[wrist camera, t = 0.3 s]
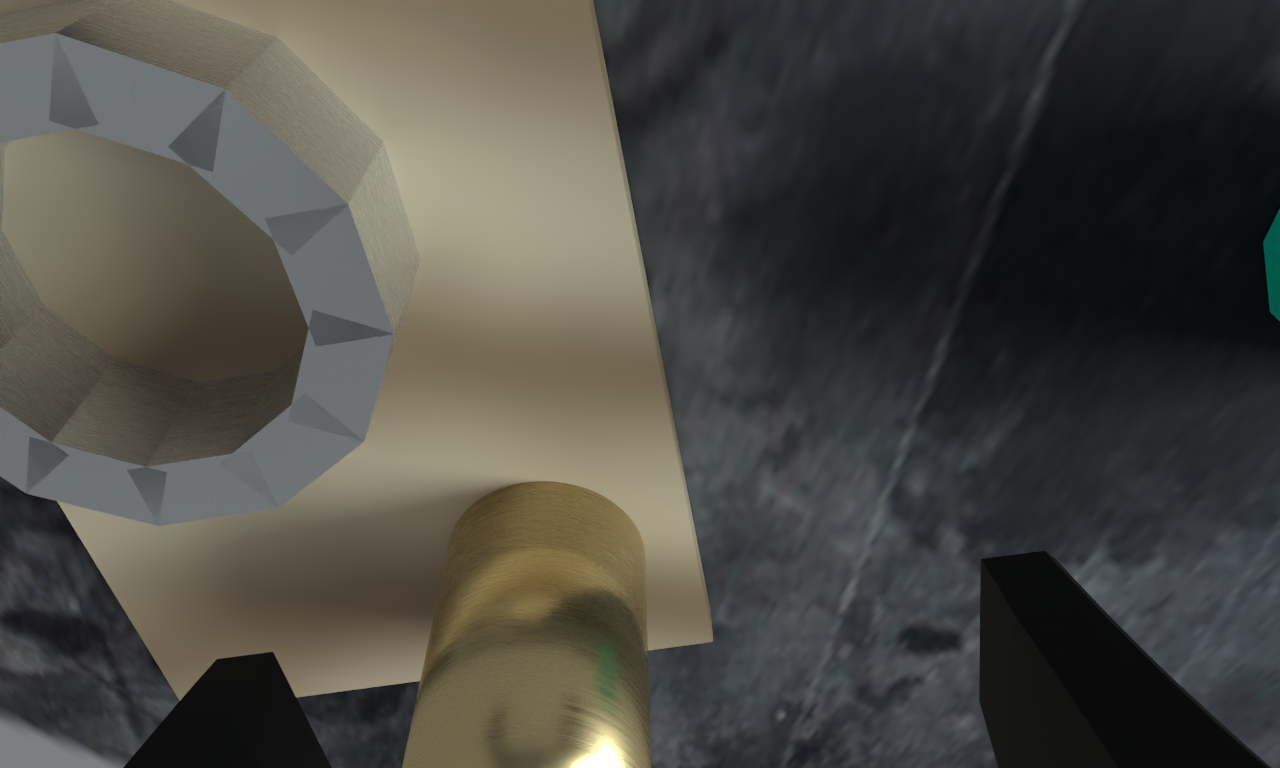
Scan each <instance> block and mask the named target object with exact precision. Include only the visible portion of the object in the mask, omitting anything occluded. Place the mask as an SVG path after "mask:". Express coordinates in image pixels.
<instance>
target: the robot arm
mask: <svg viewBox="0 0 1280 768" xmlns="http://www.w3.org/2000/svg"><path fill="white" fill-rule="evenodd" d="M979 701H980V704H981V708H982V712H983V715H984V719H985V722H986V726H987V729H988V733H989V736H990V740H991V743H992V747H993V750H994V754H995V757H996V761H997V764H998V767H999V768H1271V767H1270V766H1268V765H1267V764H1266V763H1265V762H1264V761H1263V760H1262V759H1260V758H1259V757H1258V756H1257V755H1256V754H1255V753H1254V752H1253V751H1251V750H1250V749H1249V748H1248V747H1247V746H1246V745H1245V744H1243V743H1242V742H1241V741H1240V740H1239V739H1238V738H1237V737H1236V736H1234V735H1233V734H1232V733H1231V732H1230V731H1229V730H1228V729H1227V728H1226V727H1224V726H1223V725H1222V724H1221V723H1220V722H1219V721H1218V720H1217V719H1216V718H1215V717H1214V716H1213V715H1212V714H1210V713H1209V712H1208V711H1207V710H1206V709H1205V708H1204V707H1203V706H1202V705H1201V704H1200V703H1199V702H1197V701H1196V700H1195V699H1194V698H1193V697H1192V696H1191V695H1190V694H1189V693H1188V692H1187V691H1186V690H1185V689H1183V688H1182V687H1181V686H1180V685H1179V684H1178V683H1177V682H1176V681H1175V680H1174V679H1173V678H1172V677H1171V676H1170V675H1169V674H1167V673H1166V672H1165V671H1164V670H1163V669H1162V668H1161V667H1160V666H1159V665H1158V664H1157V663H1156V662H1155V661H1154V660H1153V659H1152V658H1151V657H1150V656H1149V655H1148V654H1147V653H1146V652H1145V651H1144V650H1143V649H1142V648H1141V647H1140V646H1139V645H1138V644H1137V643H1136V642H1135V641H1134V640H1133V639H1132V638H1131V637H1130V636H1129V635H1128V634H1127V633H1126V632H1125V631H1124V630H1123V629H1122V628H1121V627H1120V626H1119V625H1118V624H1117V623H1116V622H1115V621H1114V620H1113V619H1112V618H1111V617H1110V616H1109V615H1108V614H1107V613H1106V612H1105V611H1104V610H1103V609H1102V608H1101V607H1100V606H1099V605H1098V604H1097V603H1096V601H1095V600H1094V599H1093V598H1092V597H1091V596H1090V595H1089V594H1088V593H1087V592H1086V591H1085V590H1084V589H1083V588H1082V587H1081V586H1080V585H1079V584H1078V582H1077V581H1076V580H1075V579H1074V578H1073V577H1072V576H1071V575H1070V574H1069V573H1068V572H1067V571H1066V570H1065V569H1064V568H1063V566H1062V565H1061V564H1060V563H1059V562H1058V561H1057V560H1056V559H1055V558H1054V557H1052V556H1051V555H1050V554H1048V553H1047V552H1045V551H1040V552H1032V553H1025V554H1017V555H1009V556H1002V557H994V558H986V559H981V596H980V699H979ZM124 768H331V766H330V764H329V762H328V760H327V758H326V756H325V754H324V752H323V750H322V748H321V746H320V744H319V742H318V740H317V738H316V736H315V734H314V732H313V730H312V728H311V726H310V724H309V722H308V720H307V718H306V716H305V714H304V712H303V710H302V708H301V706H300V704H299V702H298V700H297V698H296V696H295V694H294V692H293V690H292V688H291V686H290V684H289V682H288V680H287V678H286V677H285V675H284V673H283V671H282V669H281V667H280V665H279V663H278V661H277V659H276V657H275V655H274V653H273V652H267V653H259V654H252V655H244V656H236V657H229V658H221V659H216V661H215V662H214V663H213V664H212V665H211V666H210V667H209V668H208V669H207V671H206V672H205V673H204V674H203V675H202V676H201V677H200V678H199V679H198V681H197V682H196V683H195V684H194V685H193V686H192V687H191V689H190V690H189V691H188V692H187V693H186V694H185V696H184V697H183V698H182V699H181V700H180V701H179V703H178V704H177V705H176V706H175V707H174V709H173V710H172V711H171V712H170V713H169V714H168V716H167V717H166V718H165V719H164V720H163V721H162V723H161V724H160V725H159V726H158V727H157V729H156V730H155V731H154V732H153V733H152V735H151V736H150V737H149V738H148V739H147V740H146V742H145V743H144V744H143V745H142V746H141V748H140V749H139V750H138V751H137V752H136V753H135V755H134V756H133V757H132V758H131V759H130V761H129V762H128V763H127V764H126V765H125V766H124Z"/></svg>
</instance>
